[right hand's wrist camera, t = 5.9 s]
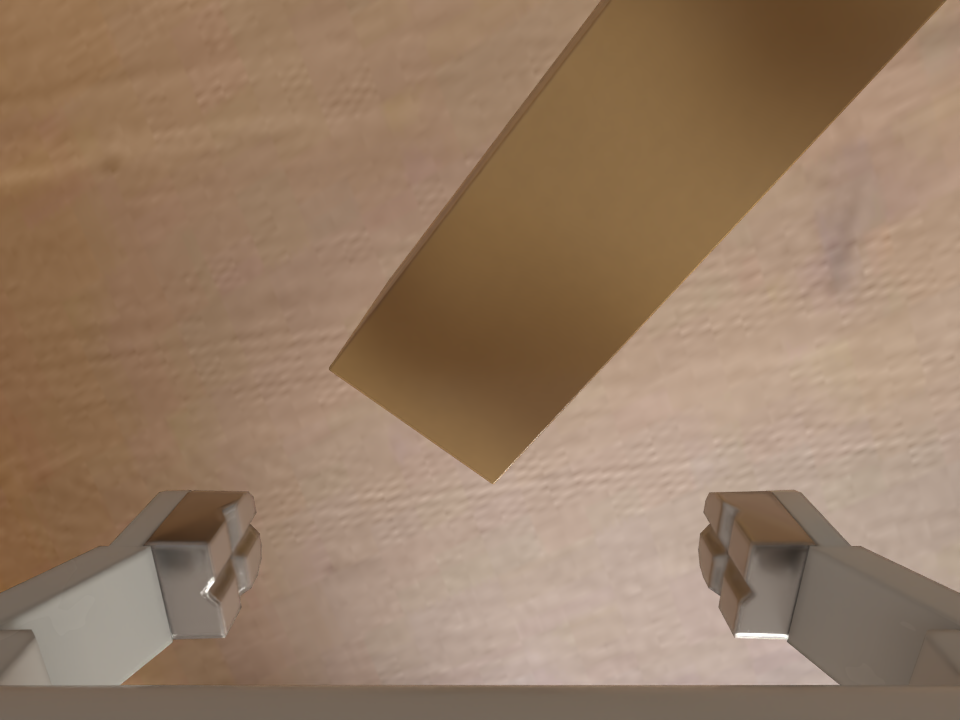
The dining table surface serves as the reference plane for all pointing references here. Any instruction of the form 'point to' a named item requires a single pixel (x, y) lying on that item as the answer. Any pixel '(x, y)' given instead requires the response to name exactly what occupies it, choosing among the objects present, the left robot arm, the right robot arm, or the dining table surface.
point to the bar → (605, 205)
